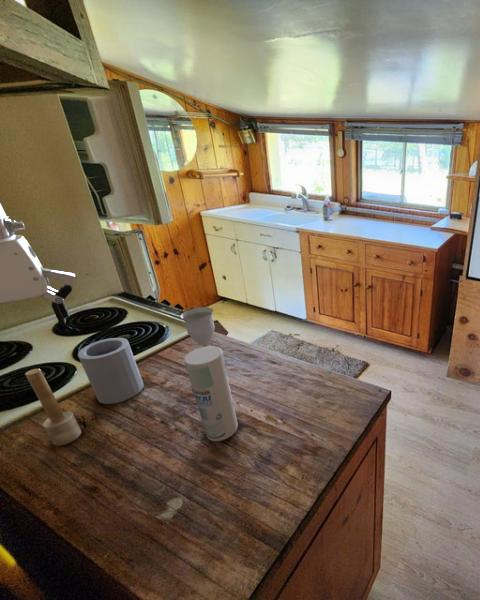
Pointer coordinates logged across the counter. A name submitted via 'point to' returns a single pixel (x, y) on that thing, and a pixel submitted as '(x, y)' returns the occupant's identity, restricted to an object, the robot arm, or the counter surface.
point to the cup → (111, 370)
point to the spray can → (212, 391)
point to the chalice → (199, 324)
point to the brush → (53, 411)
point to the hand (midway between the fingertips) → (24, 329)
